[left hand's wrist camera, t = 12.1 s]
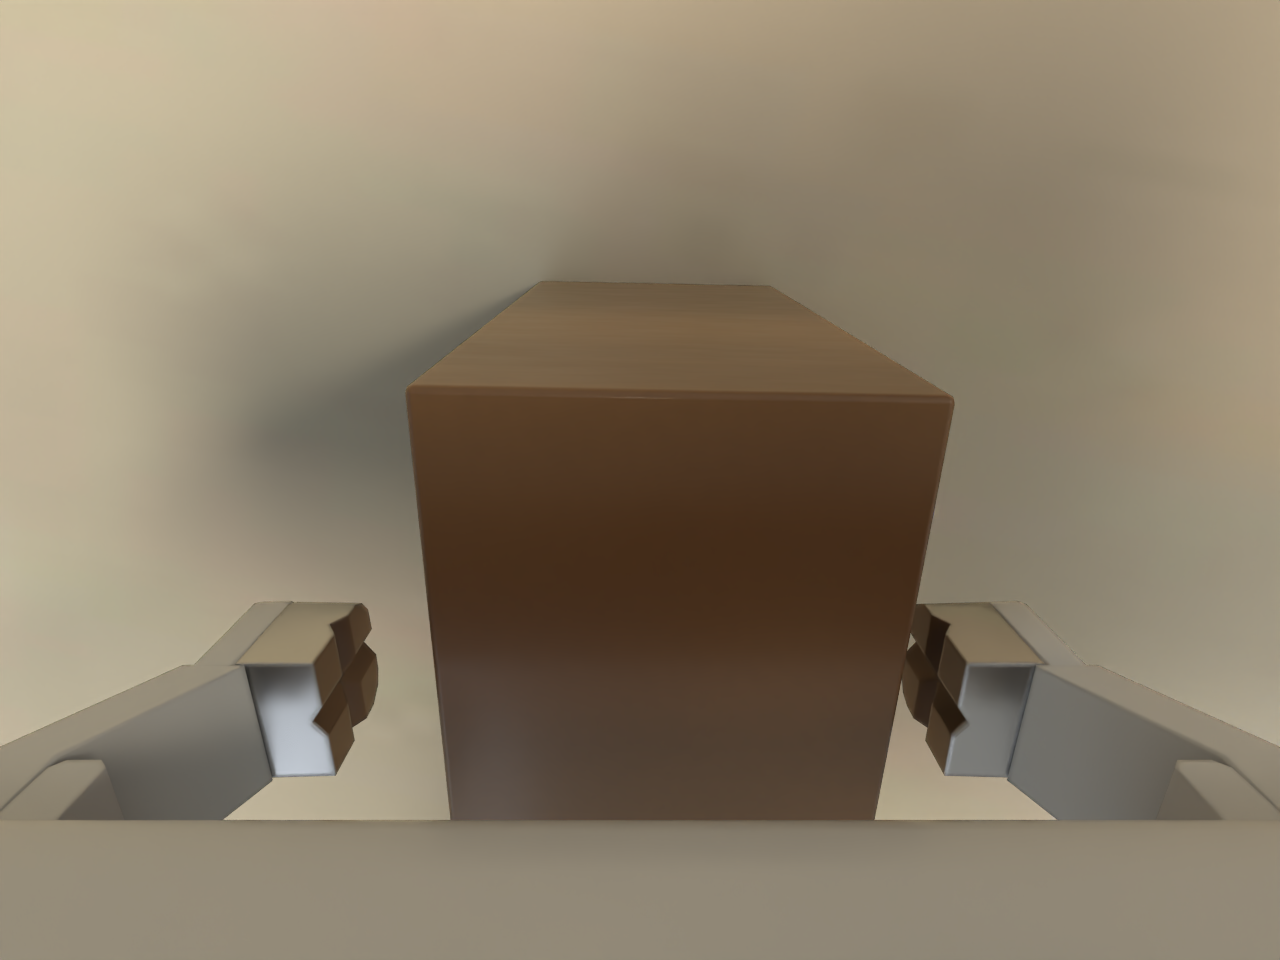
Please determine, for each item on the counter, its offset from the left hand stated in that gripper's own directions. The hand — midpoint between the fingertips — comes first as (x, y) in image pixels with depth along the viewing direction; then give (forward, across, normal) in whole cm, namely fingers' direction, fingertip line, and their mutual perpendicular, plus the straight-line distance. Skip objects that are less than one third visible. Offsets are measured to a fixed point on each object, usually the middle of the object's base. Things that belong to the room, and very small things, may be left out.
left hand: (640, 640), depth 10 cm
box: (+10, 0, +7) cm, 12 cm away
